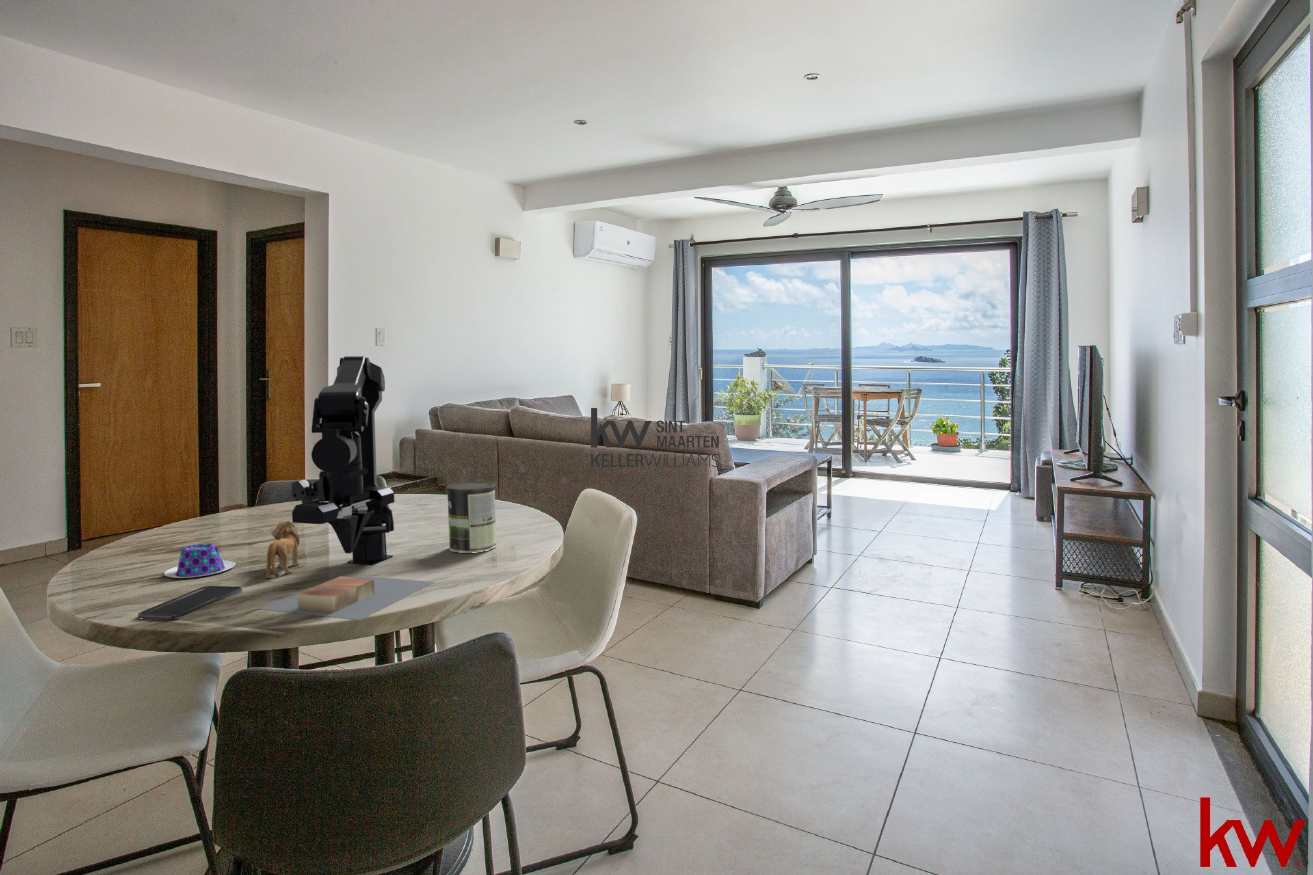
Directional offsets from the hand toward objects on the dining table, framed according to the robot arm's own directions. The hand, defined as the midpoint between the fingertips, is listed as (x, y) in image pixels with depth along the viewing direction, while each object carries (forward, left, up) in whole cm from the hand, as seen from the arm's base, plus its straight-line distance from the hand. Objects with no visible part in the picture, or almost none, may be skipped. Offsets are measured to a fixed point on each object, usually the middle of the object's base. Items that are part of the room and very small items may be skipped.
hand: (349, 552), depth 122 cm
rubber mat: (0, 0, -8) cm, 8 cm away
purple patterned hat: (-6, -41, -8) cm, 42 cm away
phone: (+10, -24, -8) cm, 27 cm away
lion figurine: (-10, -25, -8) cm, 28 cm away
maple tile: (-2, 0, -6) cm, 6 cm away
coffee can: (-35, +3, -8) cm, 36 cm away
